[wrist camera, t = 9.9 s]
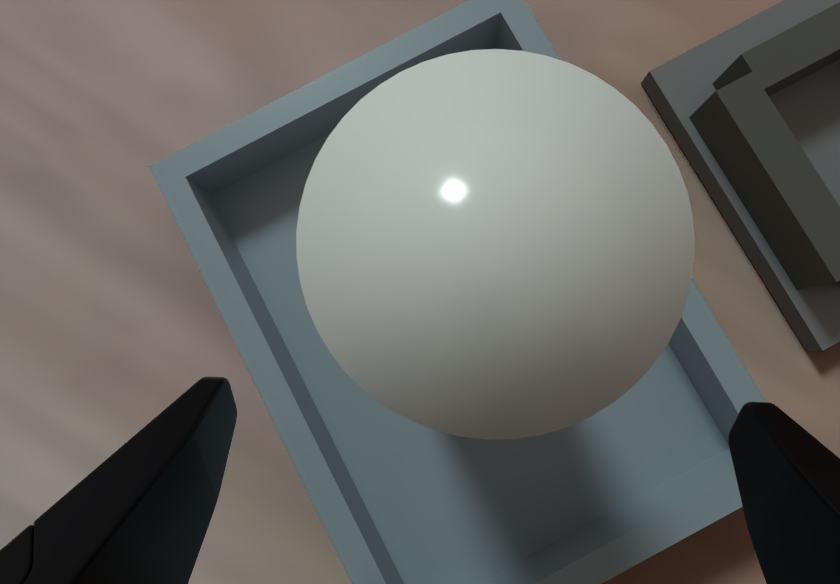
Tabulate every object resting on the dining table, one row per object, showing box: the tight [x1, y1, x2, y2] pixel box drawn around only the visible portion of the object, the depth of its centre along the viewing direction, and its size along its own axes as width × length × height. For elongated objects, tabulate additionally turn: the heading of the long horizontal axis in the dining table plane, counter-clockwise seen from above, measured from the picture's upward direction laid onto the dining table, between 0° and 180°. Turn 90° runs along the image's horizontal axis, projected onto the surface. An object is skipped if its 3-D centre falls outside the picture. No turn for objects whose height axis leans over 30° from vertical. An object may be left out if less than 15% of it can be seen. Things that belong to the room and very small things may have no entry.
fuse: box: [296, 49, 695, 440], centre depth 12 cm, size 4×4×12 cm
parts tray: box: [149, 0, 766, 584], centre depth 17 cm, size 16×12×2 cm
